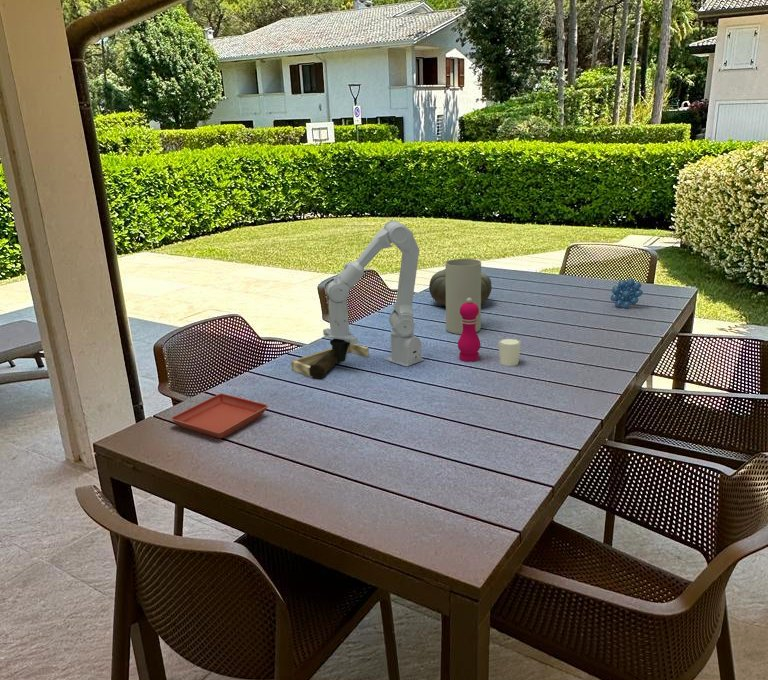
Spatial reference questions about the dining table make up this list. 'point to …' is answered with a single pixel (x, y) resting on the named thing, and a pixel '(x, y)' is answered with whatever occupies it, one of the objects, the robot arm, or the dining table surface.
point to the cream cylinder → (509, 351)
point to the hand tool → (323, 365)
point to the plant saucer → (220, 415)
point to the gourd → (439, 287)
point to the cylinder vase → (462, 291)
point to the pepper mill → (469, 332)
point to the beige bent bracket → (304, 363)
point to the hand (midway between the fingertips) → (341, 361)
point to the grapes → (626, 293)
